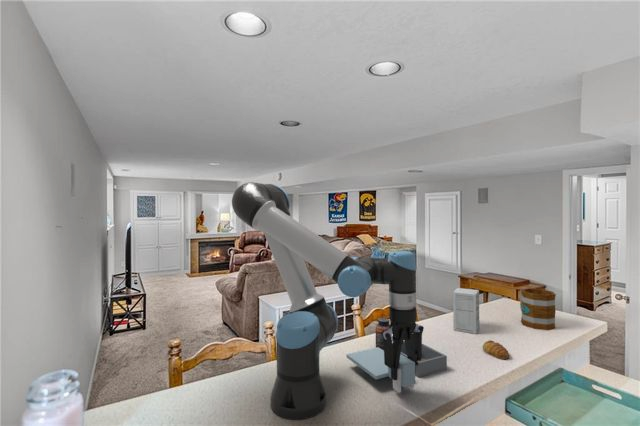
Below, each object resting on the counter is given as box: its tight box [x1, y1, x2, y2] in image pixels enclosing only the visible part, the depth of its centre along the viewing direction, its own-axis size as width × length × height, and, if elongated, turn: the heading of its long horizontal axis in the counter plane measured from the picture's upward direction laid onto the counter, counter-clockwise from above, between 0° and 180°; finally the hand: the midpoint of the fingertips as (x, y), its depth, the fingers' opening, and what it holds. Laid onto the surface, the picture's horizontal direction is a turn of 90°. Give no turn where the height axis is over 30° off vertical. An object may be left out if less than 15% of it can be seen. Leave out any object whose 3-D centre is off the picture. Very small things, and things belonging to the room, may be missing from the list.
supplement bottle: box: [375, 317, 390, 351], centre depth 128 cm, size 6×6×11 cm
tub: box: [392, 341, 448, 379], centre depth 116 cm, size 12×16×5 cm
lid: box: [346, 346, 416, 388], centre depth 105 cm, size 13×24×6 cm, turn 26°
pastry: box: [482, 340, 510, 360], centre depth 124 cm, size 9×7×4 cm
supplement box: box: [452, 287, 480, 335], centre depth 149 cm, size 10×9×17 cm
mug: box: [519, 287, 557, 331], centre depth 157 cm, size 20×14×15 cm
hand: (403, 388), depth 97 cm, fingers closed on lid, 4 cm apart
